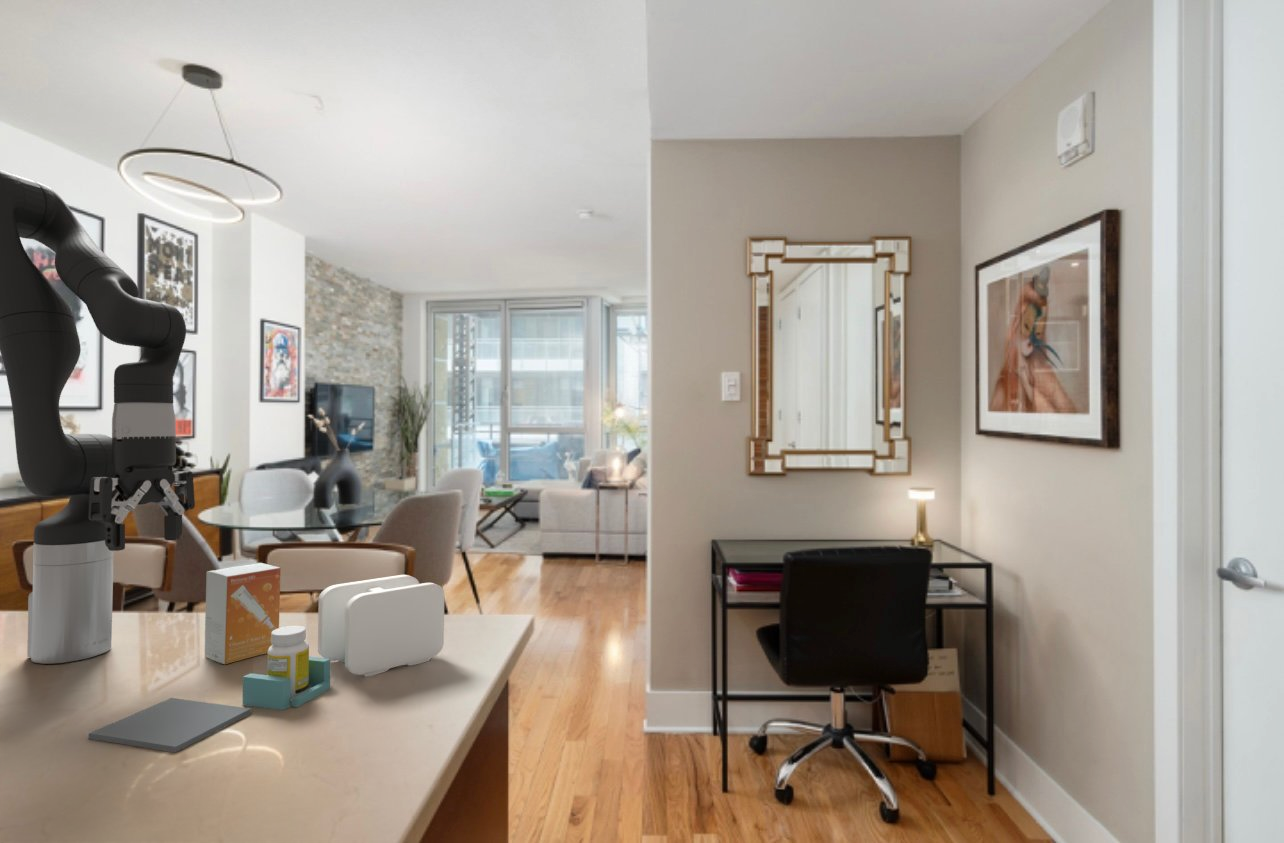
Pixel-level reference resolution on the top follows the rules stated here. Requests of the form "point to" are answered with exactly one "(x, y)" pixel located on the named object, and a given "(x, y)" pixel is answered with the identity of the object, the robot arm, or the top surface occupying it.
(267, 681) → the teal corner cradle
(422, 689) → the top surface
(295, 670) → the supplement bottle
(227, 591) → the small box
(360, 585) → the cable organizer
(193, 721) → the mat
